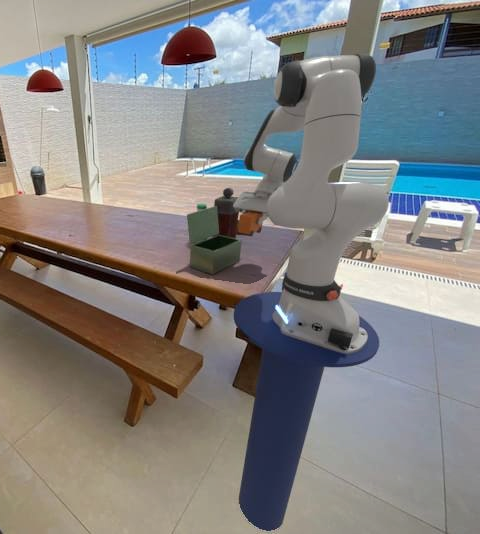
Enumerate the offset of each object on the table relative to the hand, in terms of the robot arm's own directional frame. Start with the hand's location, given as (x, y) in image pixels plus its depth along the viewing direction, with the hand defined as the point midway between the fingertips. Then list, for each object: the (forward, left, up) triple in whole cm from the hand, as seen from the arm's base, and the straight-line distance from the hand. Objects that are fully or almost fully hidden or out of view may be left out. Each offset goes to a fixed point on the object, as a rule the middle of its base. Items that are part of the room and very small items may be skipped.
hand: (250, 222), depth 121 cm
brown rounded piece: (+27, -36, -19) cm, 49 cm away
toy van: (0, -1, -5) cm, 5 cm away
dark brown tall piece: (+23, -19, -19) cm, 35 cm away
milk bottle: (+33, -12, -19) cm, 40 cm away
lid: (+17, +6, -3) cm, 18 cm away
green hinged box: (+11, +6, -19) cm, 23 cm away
